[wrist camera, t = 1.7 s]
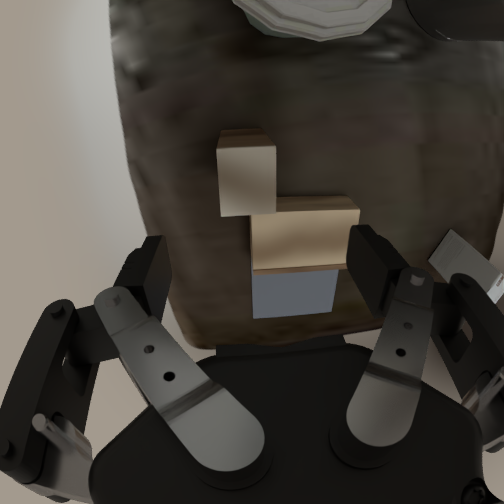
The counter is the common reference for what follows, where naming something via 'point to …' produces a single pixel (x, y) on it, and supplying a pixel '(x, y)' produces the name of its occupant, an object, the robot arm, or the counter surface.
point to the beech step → (302, 235)
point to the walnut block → (246, 172)
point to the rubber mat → (293, 293)
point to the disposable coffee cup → (313, 17)
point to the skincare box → (467, 264)
